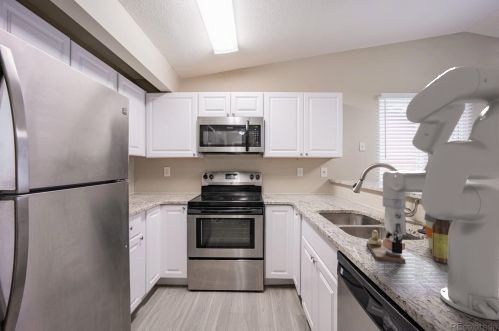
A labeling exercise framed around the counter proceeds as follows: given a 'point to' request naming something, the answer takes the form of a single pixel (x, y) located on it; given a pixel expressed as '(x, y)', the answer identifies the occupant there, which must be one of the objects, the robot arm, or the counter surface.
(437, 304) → the counter surface
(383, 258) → the board
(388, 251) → the storage rod
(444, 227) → the sauce bottle
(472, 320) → the counter surface
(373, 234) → the hub post
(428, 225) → the reusable coffee cup
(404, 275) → the counter surface
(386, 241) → the ring
